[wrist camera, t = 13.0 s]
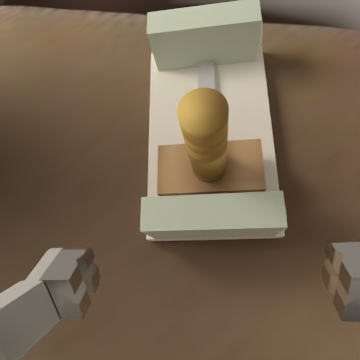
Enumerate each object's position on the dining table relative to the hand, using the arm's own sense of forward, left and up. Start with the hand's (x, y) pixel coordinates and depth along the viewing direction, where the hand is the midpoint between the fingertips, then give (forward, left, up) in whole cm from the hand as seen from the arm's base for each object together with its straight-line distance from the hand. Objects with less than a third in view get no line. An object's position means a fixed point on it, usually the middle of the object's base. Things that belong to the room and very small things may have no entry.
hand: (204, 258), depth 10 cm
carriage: (0, +9, -18) cm, 20 cm away
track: (0, +15, -21) cm, 26 cm away
